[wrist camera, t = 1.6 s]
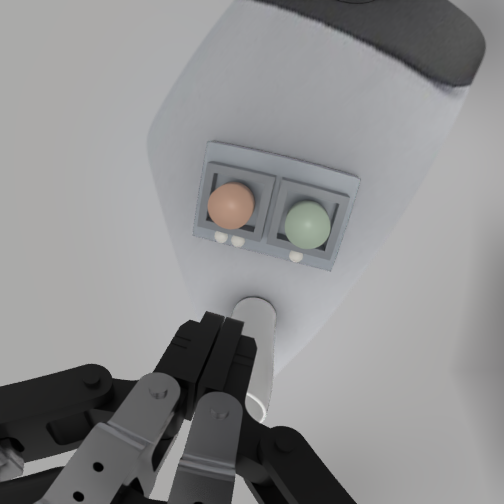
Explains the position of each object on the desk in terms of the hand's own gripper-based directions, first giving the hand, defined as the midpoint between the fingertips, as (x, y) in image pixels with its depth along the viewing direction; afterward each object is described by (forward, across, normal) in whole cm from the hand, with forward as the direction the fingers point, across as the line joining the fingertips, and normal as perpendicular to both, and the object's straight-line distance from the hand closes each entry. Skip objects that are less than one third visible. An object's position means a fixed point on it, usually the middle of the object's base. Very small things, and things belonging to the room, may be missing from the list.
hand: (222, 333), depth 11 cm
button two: (+18, +3, 0) cm, 18 cm away
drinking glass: (+21, -1, +14) cm, 25 cm away
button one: (+18, -3, 0) cm, 18 cm away
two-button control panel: (+21, 0, 0) cm, 21 cm away
